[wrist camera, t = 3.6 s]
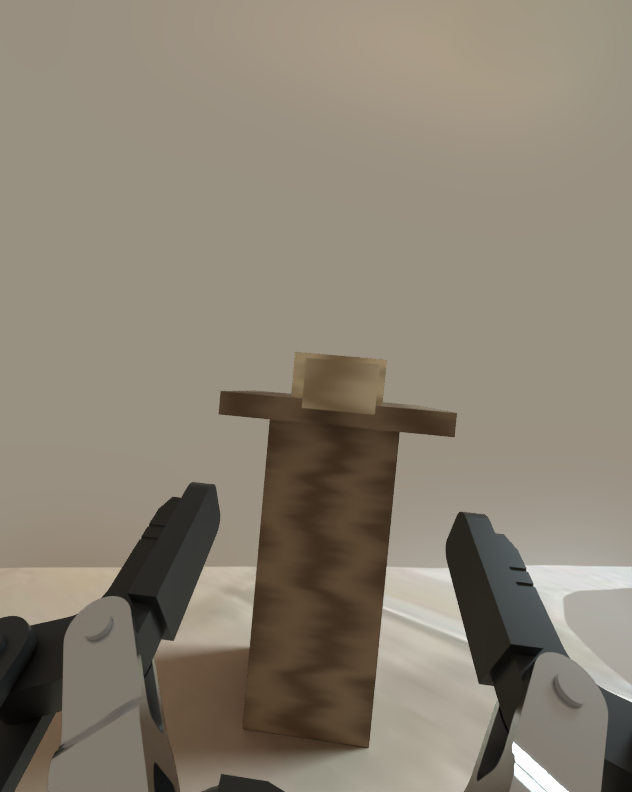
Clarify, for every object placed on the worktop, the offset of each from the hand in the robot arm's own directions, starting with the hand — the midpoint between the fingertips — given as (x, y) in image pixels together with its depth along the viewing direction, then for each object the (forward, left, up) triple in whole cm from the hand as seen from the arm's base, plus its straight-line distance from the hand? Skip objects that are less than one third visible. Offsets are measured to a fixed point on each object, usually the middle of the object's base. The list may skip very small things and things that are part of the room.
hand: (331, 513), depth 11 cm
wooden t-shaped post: (0, -23, -29) cm, 37 cm away
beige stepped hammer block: (0, -15, +3) cm, 16 cm away
